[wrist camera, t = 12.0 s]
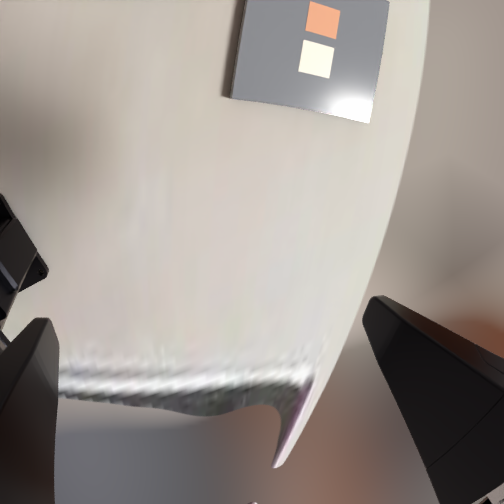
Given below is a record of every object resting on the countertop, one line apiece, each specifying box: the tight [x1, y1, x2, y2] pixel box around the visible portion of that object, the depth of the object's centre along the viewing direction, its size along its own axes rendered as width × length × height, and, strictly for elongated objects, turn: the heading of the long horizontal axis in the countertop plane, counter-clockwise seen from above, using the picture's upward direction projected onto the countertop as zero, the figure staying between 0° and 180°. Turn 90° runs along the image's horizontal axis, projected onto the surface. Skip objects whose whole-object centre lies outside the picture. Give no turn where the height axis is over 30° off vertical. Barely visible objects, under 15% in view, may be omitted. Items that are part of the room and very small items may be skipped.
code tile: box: [230, 0, 389, 123], centre depth 15 cm, size 9×9×1 cm
